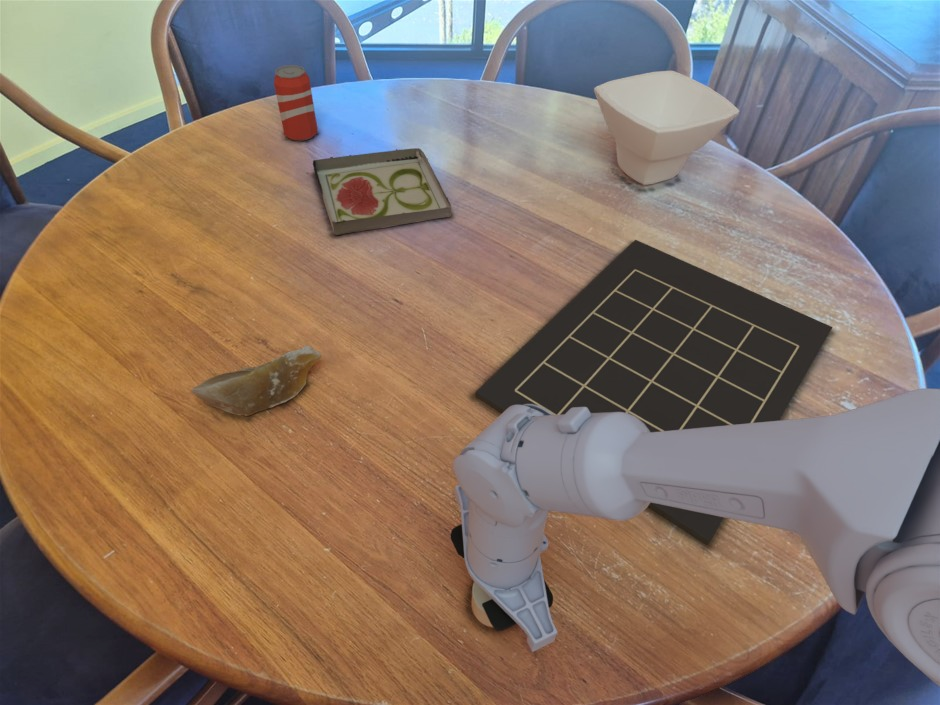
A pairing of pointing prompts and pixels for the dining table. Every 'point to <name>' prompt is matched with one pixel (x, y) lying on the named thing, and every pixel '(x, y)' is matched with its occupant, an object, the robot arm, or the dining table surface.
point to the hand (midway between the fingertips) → (495, 598)
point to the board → (664, 355)
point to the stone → (259, 384)
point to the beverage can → (295, 102)
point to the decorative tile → (380, 190)
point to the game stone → (480, 604)
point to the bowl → (660, 121)
